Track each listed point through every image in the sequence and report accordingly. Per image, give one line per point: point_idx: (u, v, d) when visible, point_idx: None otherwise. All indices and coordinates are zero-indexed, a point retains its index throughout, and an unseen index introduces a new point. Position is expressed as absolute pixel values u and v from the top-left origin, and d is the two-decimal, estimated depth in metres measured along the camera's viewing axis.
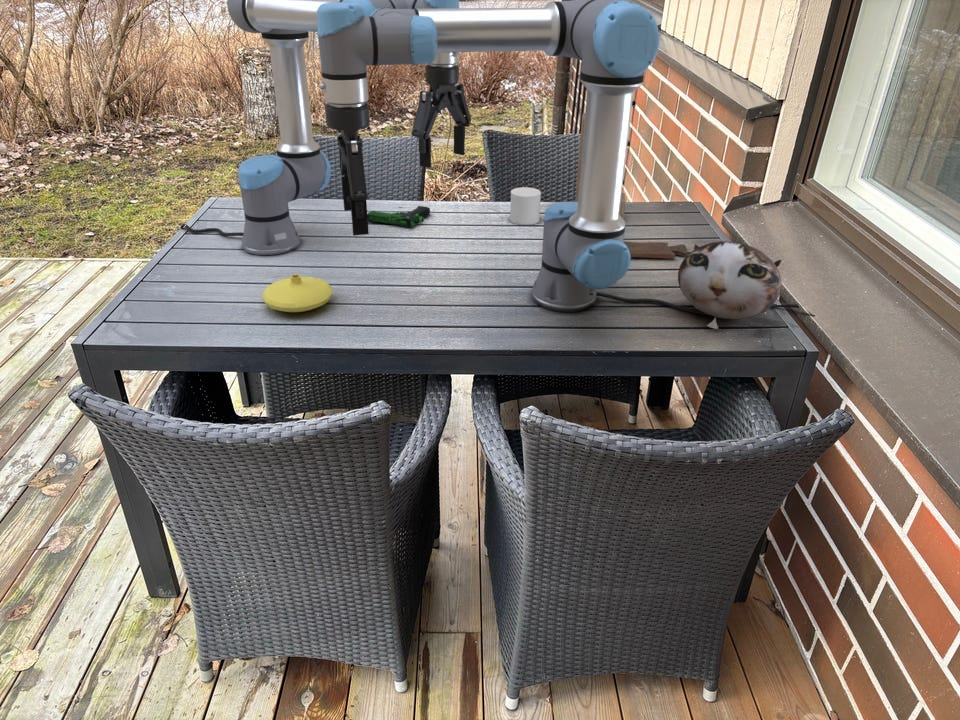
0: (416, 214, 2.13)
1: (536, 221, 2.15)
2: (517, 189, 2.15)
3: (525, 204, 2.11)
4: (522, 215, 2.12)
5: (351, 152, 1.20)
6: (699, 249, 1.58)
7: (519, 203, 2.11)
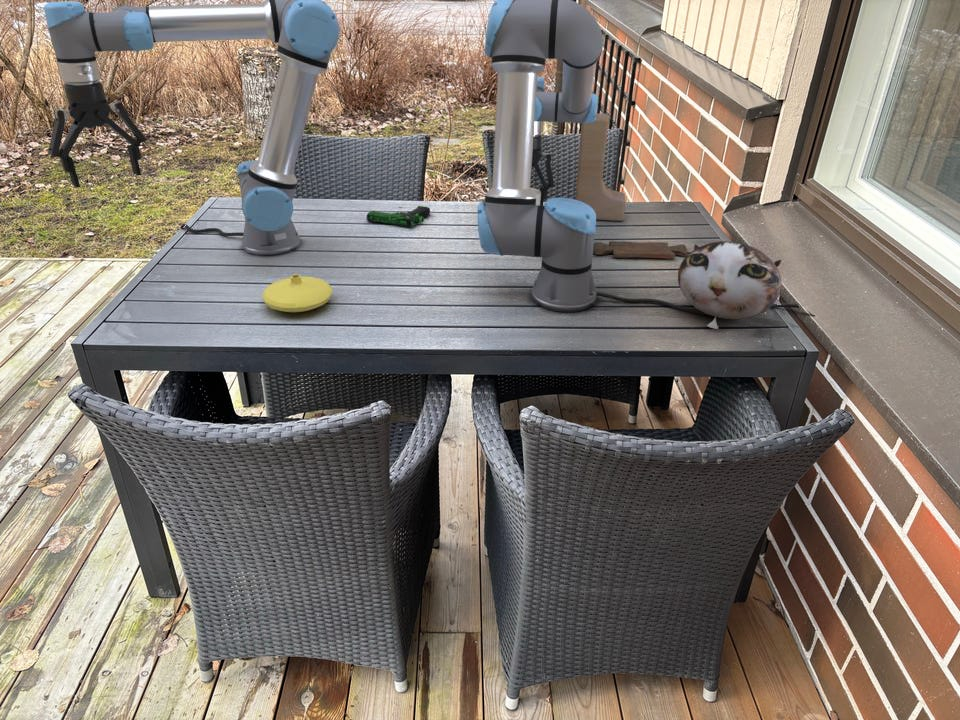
0: (416, 214, 2.13)
1: None
2: None
3: None
4: None
5: None
6: (699, 249, 1.58)
7: None
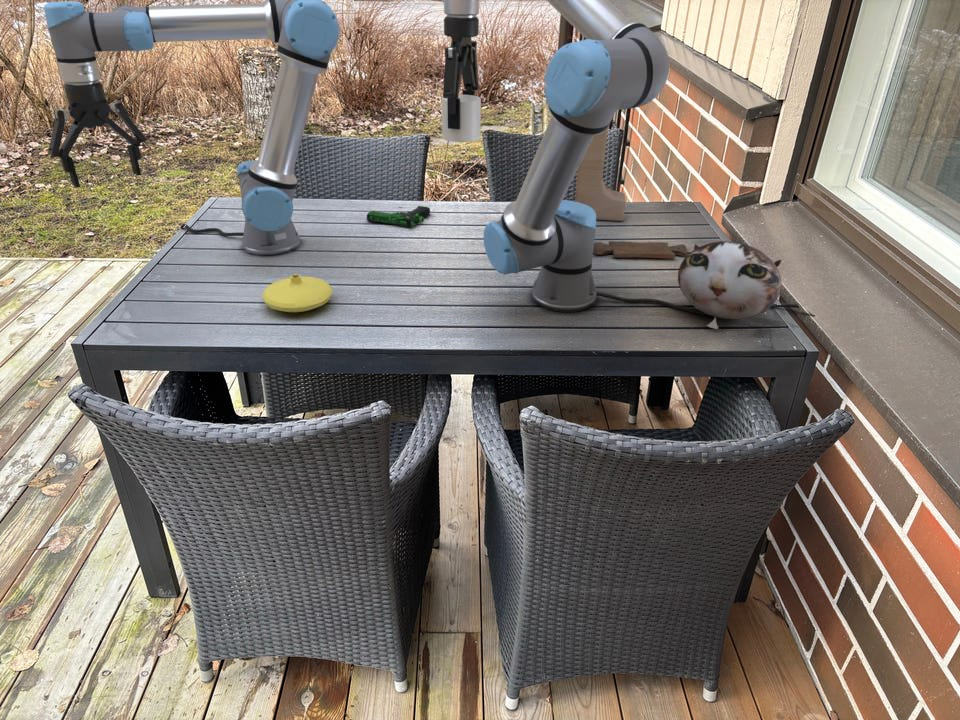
0: (416, 214, 2.13)
1: None
2: None
3: (478, 111, 1.61)
4: (476, 127, 1.62)
5: (448, 57, 1.52)
6: (699, 249, 1.58)
7: (472, 112, 1.60)
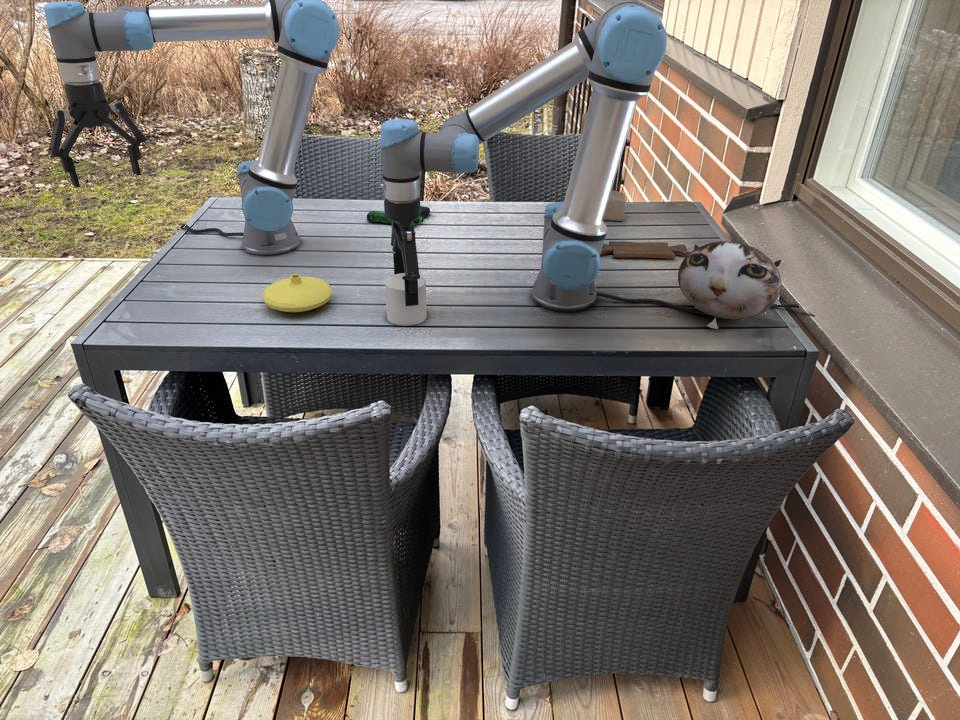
0: None
1: None
2: (396, 286, 1.55)
3: None
4: None
5: (406, 241, 1.45)
6: (699, 249, 1.58)
7: (424, 293, 1.57)
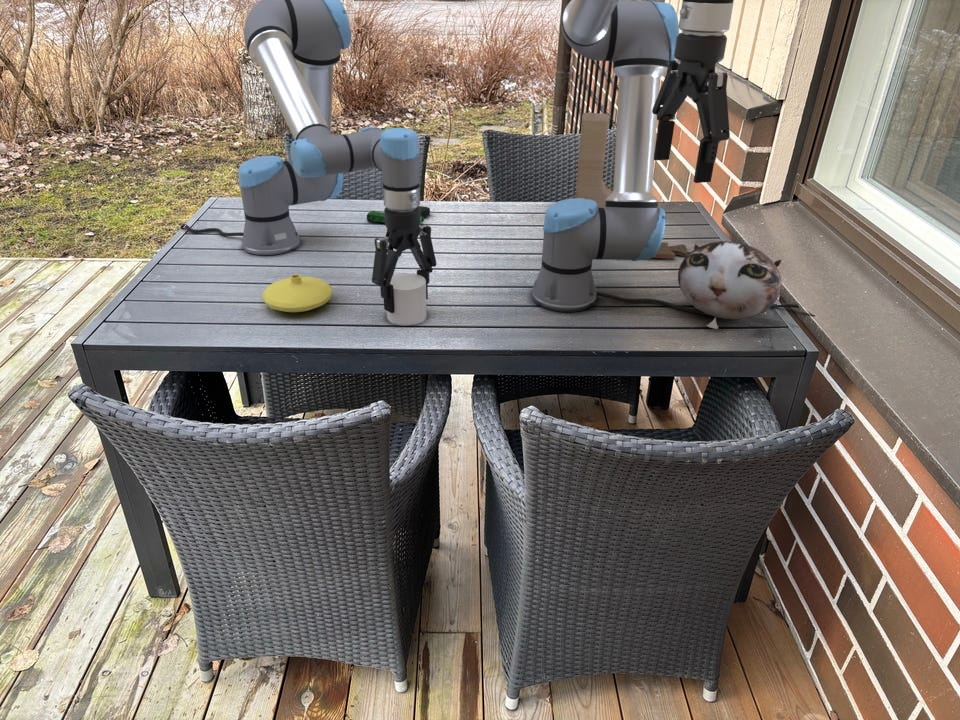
0: None
1: None
2: (396, 286, 1.55)
3: None
4: None
5: (716, 86, 1.07)
6: (699, 249, 1.58)
7: (424, 293, 1.57)
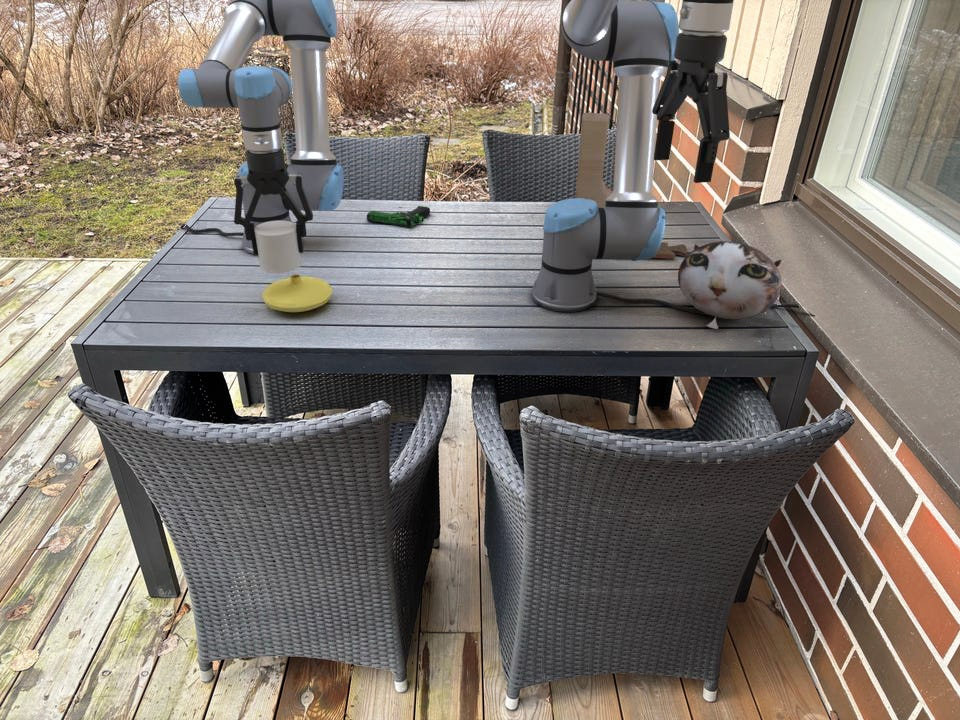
0: (416, 214, 2.13)
1: None
2: (260, 229, 1.53)
3: (292, 242, 1.54)
4: (292, 257, 1.55)
5: (716, 86, 1.07)
6: (699, 249, 1.58)
7: (285, 243, 1.53)
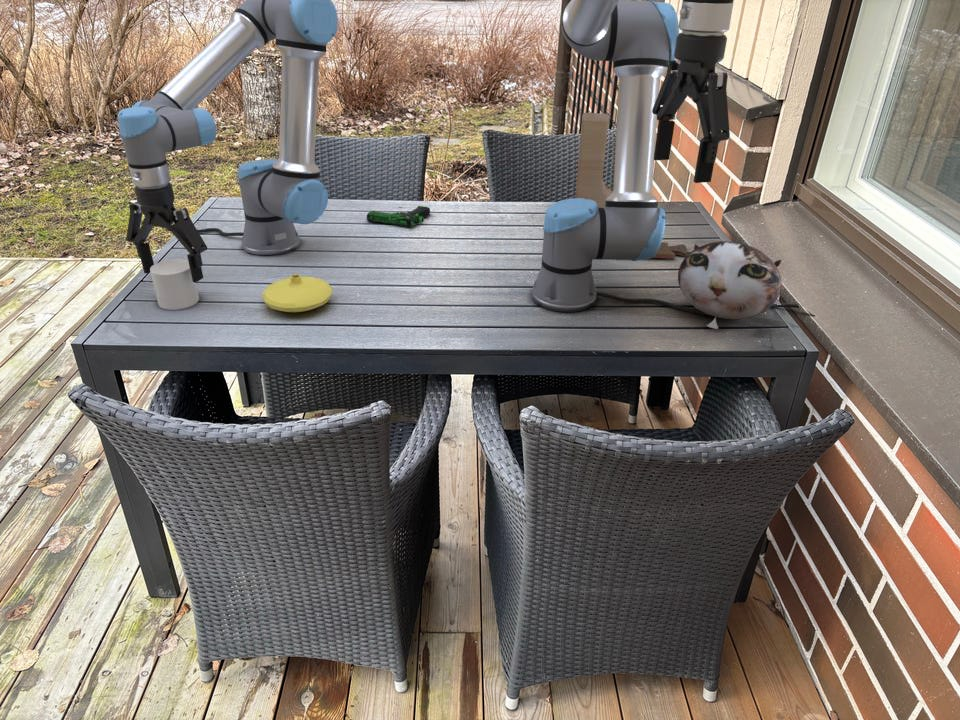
0: (416, 214, 2.13)
1: (196, 300, 1.66)
2: (157, 265, 1.62)
3: (176, 283, 1.60)
4: (176, 297, 1.62)
5: (716, 86, 1.07)
6: (699, 249, 1.58)
7: (168, 284, 1.59)
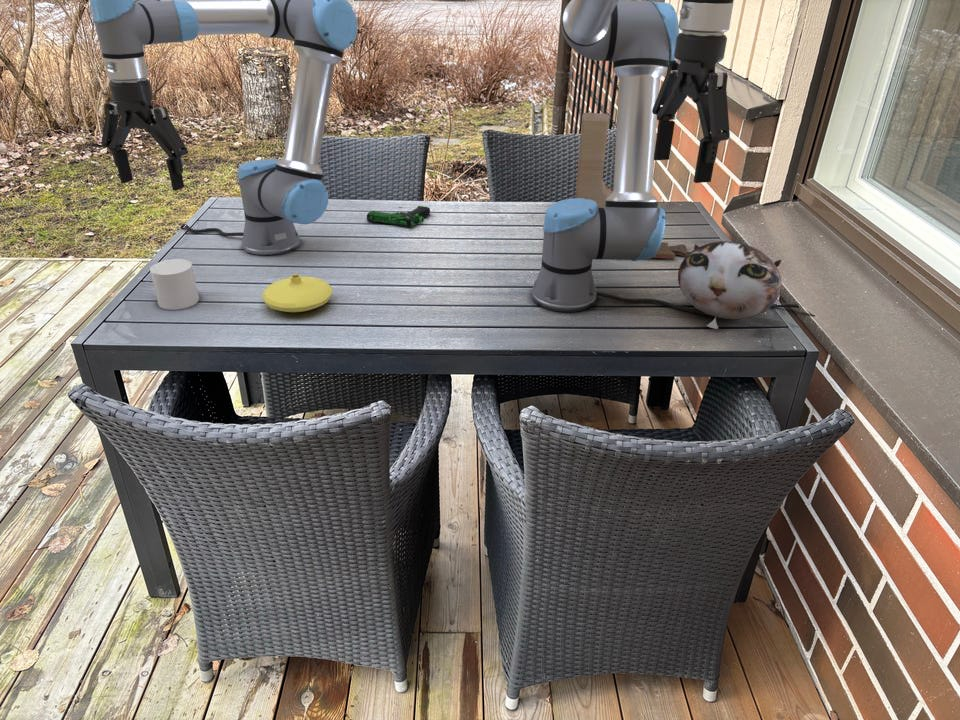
0: (416, 214, 2.13)
1: (196, 300, 1.66)
2: (157, 265, 1.62)
3: (176, 283, 1.60)
4: (176, 297, 1.62)
5: (716, 86, 1.07)
6: (699, 249, 1.58)
7: (168, 284, 1.59)
